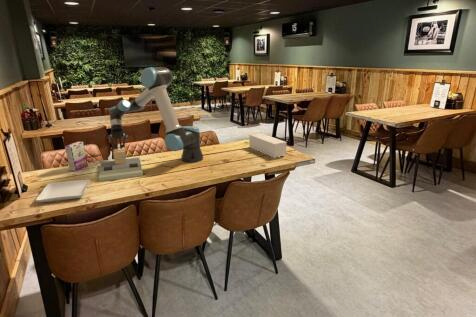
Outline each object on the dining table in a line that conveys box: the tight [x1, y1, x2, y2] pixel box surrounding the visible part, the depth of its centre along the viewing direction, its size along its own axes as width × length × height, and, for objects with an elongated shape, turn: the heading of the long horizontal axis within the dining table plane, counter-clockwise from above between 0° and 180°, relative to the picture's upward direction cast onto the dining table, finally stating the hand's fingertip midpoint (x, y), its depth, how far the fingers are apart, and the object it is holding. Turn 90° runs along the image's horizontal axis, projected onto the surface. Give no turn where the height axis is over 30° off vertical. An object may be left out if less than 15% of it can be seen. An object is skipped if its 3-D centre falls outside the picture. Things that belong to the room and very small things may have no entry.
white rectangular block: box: [248, 132, 287, 159], centre depth 222 cm, size 32×11×11 cm, turn 31°
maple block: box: [112, 148, 127, 165], centre depth 194 cm, size 7×7×8 cm
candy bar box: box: [64, 141, 88, 172], centre depth 189 cm, size 11×5×16 cm, turn 168°
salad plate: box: [35, 179, 91, 203], centre depth 155 cm, size 21×21×3 cm
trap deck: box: [98, 157, 144, 182], centre depth 187 cm, size 30×24×2 cm
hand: (119, 156), depth 200 cm, fingers closed
